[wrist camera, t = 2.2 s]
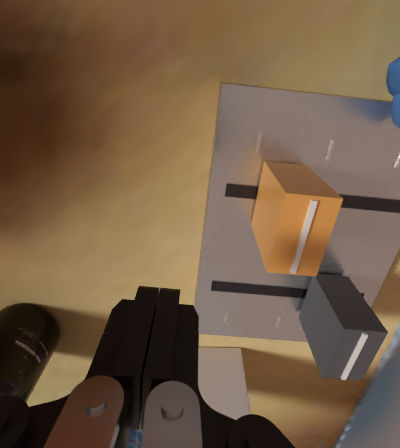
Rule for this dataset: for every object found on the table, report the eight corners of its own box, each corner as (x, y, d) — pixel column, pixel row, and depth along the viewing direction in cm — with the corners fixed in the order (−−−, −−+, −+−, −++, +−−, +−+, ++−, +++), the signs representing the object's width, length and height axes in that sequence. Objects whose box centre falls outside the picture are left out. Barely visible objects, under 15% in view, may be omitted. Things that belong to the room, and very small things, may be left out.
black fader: (313, 273, 25) (345, 331, 19) (348, 276, 25) (389, 334, 19) (298, 317, 27) (322, 380, 22) (330, 319, 27) (362, 383, 22)
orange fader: (264, 161, 20) (287, 194, 15) (306, 165, 21) (345, 200, 15) (251, 224, 23) (266, 274, 17) (289, 228, 23) (317, 278, 17)
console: (220, 82, 20) (222, 83, 18) (444, 107, 21) (467, 110, 19) (192, 317, 30) (191, 333, 29) (344, 329, 31) (353, 346, 29)
